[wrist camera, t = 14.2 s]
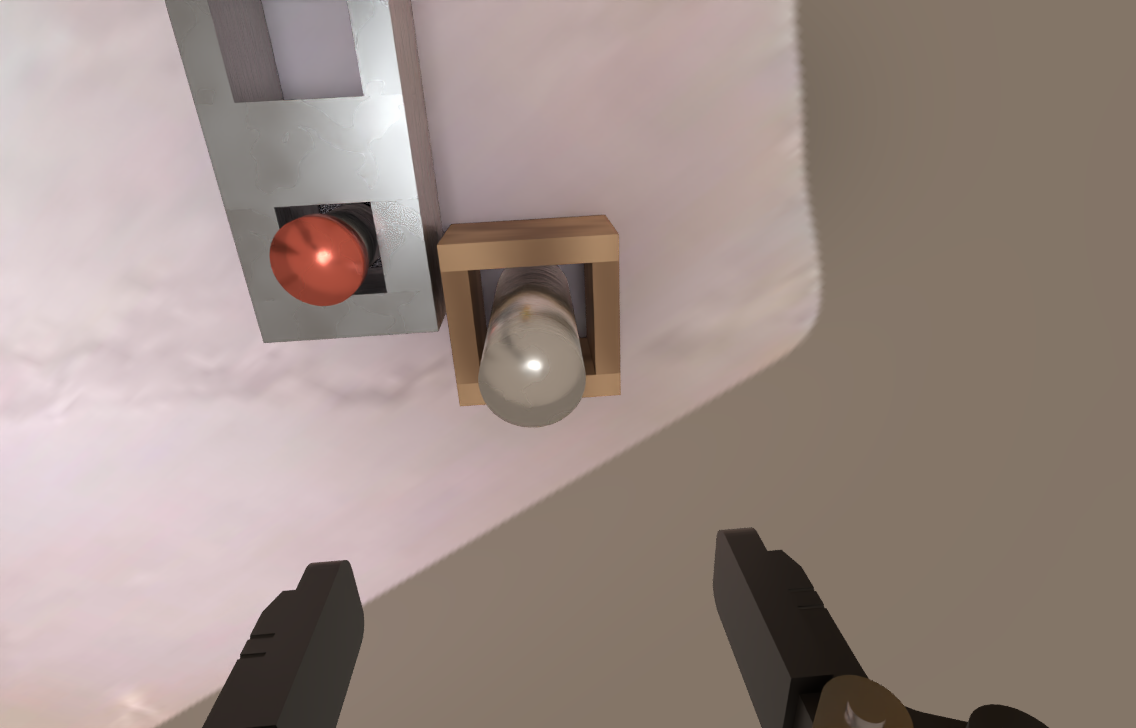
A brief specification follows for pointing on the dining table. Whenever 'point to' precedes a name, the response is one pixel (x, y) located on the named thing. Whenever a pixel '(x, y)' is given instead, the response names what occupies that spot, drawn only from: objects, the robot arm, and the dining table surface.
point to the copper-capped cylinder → (325, 254)
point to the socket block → (320, 162)
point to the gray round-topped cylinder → (532, 349)
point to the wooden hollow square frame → (526, 247)
